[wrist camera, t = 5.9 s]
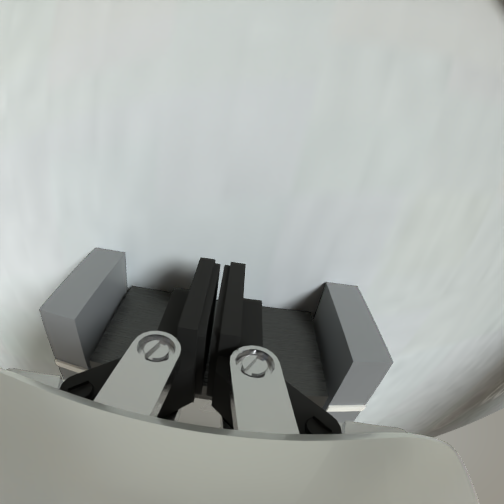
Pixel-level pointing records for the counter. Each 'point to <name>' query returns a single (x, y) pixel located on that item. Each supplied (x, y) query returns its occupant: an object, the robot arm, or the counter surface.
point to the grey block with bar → (274, 339)
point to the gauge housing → (325, 325)
